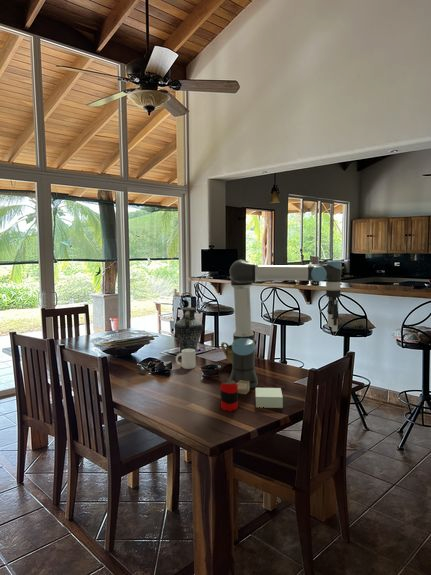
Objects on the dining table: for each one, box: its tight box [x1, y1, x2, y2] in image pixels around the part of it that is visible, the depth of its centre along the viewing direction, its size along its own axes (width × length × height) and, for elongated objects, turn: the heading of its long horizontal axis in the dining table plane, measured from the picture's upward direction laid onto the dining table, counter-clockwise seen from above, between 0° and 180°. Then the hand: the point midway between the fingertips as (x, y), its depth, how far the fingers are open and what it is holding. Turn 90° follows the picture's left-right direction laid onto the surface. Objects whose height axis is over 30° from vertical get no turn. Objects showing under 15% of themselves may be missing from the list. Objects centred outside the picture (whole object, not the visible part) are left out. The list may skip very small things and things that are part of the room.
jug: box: [174, 306, 204, 352], centre depth 291 cm, size 21×19×30 cm
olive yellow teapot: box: [220, 338, 257, 365], centre depth 260 cm, size 22×17×15 cm
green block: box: [255, 387, 284, 409], centre depth 199 cm, size 12×12×5 cm
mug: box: [175, 349, 196, 370], centre depth 255 cm, size 12×8×10 cm
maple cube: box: [237, 380, 250, 395], centre depth 213 cm, size 5×5×5 cm
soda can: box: [220, 379, 239, 412], centre depth 193 cm, size 8×8×12 cm
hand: (332, 328), depth 230 cm, fingers open, 13 cm apart
